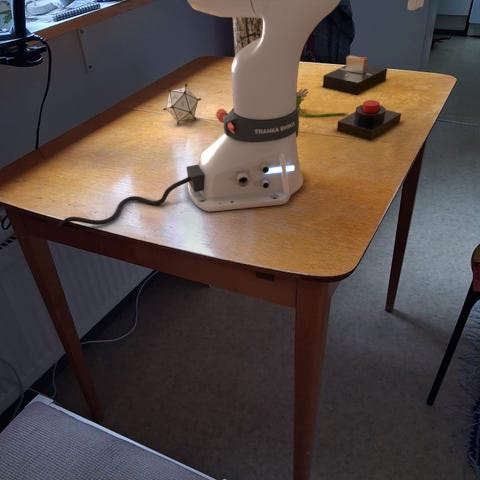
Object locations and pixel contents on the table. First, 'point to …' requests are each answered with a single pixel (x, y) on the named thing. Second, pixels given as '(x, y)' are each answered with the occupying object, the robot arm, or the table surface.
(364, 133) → the button block
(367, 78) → the panel
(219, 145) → the robot arm
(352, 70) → the beige rectangular block
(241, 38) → the bark textured post
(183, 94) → the game die
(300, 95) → the decorative flower
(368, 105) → the button
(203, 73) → the table surface
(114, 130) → the table surface
